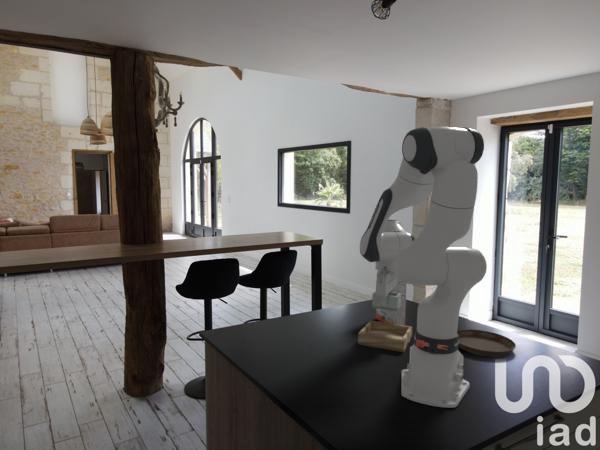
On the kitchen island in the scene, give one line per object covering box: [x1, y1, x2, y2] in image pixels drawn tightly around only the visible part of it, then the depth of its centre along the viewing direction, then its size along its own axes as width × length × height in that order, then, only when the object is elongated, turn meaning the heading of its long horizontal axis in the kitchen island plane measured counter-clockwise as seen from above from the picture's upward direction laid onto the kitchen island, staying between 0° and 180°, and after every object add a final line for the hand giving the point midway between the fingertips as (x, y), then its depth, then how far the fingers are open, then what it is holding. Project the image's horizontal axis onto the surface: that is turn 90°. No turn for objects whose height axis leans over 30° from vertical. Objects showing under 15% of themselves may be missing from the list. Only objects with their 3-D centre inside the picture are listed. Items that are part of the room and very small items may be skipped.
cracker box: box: [375, 270, 407, 326], centre depth 170 cm, size 14×6×21 cm, turn 19°
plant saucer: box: [457, 328, 517, 358], centre depth 147 cm, size 21×21×3 cm
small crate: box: [371, 290, 401, 311], centre depth 151 cm, size 6×9×5 cm, turn 66°
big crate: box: [357, 320, 413, 353], centre depth 152 cm, size 16×16×4 cm
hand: (386, 302), depth 151 cm, fingers closed on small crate, 6 cm apart
